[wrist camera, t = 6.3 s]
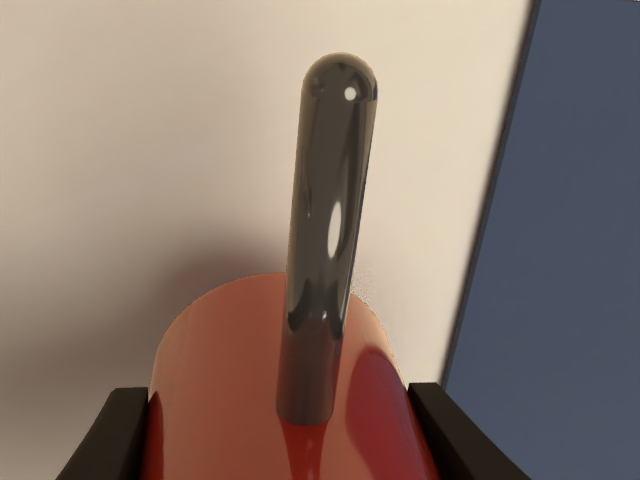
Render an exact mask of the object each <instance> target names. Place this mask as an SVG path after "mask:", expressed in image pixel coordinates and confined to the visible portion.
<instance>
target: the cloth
mask: <svg viewBox="0 0 640 480" xmlns="http://www.w3.org/2000/svg"><path fill="white" fill-rule="evenodd" d="M442 389H443V390H444V391H445V392H446V393H447V394H448V395H449V396H450V397H451V399H452V400H453V401H454V402H455V403H456V404H457V405H458V406H459V407H460V408H461V409H462V410H463V411H464V413H465V414H466V415H467V416H468V417H469V418H470V419H471V420H472V421H473V422H474V423H475V424H476V425H477V426H478V427H479V428H480V430H481V431H482V432H483V433H484V434H485V435H486V436H487V437H488V438H489V439H490V440H491V441H492V442H493V443H494V444H495V445H496V446H497V447H498V448H499V449H500V450H501V451H502V452H503V453H504V454H505V455H506V456H507V457H508V458H509V459H510V460H511V461H512V462H513V463H515V464H516V465H517V466H518V467H519V468H520V469H521V470H522V471H523V472H524V473H525V474H526V475H527V476H529V477H530V478H531V479H532V480H640V1H635V0H535V4H534V8H533V13H532V17H531V21H530V25H529V29H528V33H527V37H526V41H525V46H524V50H523V54H522V58H521V62H520V66H519V70H518V74H517V79H516V83H515V87H514V91H513V95H512V99H511V103H510V108H509V112H508V116H507V120H506V124H505V128H504V132H503V136H502V141H501V145H500V149H499V153H498V157H497V161H496V165H495V169H494V174H493V178H492V182H491V186H490V190H489V194H488V198H487V202H486V207H485V211H484V215H483V219H482V223H481V227H480V231H479V236H478V240H477V244H476V248H475V252H474V256H473V260H472V264H471V269H470V273H469V277H468V281H467V285H466V289H465V293H464V297H463V302H462V306H461V310H460V314H459V318H458V322H457V326H456V331H455V335H454V339H453V343H452V347H451V351H450V355H449V359H448V364H447V368H446V372H445V376H444V380H443V384H442Z"/></svg>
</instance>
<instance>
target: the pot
mask: <svg viewBox="0 0 640 480" xmlns="http://www.w3.org/2000/svg"><path fill="white" fill-rule="evenodd" d="M377 100H378V84H377V80H376V77H375V75H374V73H373V71H372V70H371V68H370V67H369V65H368V64H367V63H366V62H365V61H363V60H362V59H360V58H359V57H357V56H355V55H352V54H349V53H344V52H338V53H331V54H328V55H326V56H323V57H321V58H320V59H318V60H317V61H316V62H315V63H314V64H313V65H312V66H311V67H310V68H309V70H308V71H307V73H306V75H305V77H304V80H303V84H302V90H301V102H300V114H299V126H298V138H297V149H296V161H295V173H294V185H293V197H292V209H291V221H290V233H289V244H288V256H287V268H286V273H266V274H259V275H253V276H248V277H244V278H240V279H237V280H233V281H231V282H228V283H226V284H223V285H221V286H218V287H216V288H214V289H212V290H211V291H209V292H207V293H205V294H203V295H202V296H200V297H199V298H198V299H196V300H195V301H193V302H192V303H191V304H190V305H188V306H187V307H186V308H185V309H184V310H183V311H182V312H181V313H180V314H179V315H178V316H177V317H176V318H175V320H174V321H173V322H172V323H171V325H170V326H169V327H168V329H167V331H166V332H165V334H164V336H163V337H162V340H161V342H160V344H159V347H158V349H157V353H156V357H155V362H154V367H153V374H152V380H151V386H150V393H149V399H148V409H147V415H146V422H145V428H144V434H143V441H142V447H141V452H140V458H139V463H138V469H137V476H136V480H441V478H440V475H439V473H438V470H437V467H436V465H435V462H434V460H433V457H432V455H431V452H430V449H429V447H428V444H427V442H426V439H425V436H424V434H423V431H422V429H421V426H420V423H419V421H418V418H417V416H416V413H415V410H414V408H413V405H412V403H411V400H410V398H409V395H408V392H407V390H406V387H405V385H404V382H403V379H402V377H401V374H400V372H399V369H398V366H397V364H396V361H395V359H394V356H393V353H392V351H391V348H390V346H389V343H388V340H387V338H386V335H385V333H384V330H383V328H382V326H381V324H380V322H379V321H378V319H377V318H376V316H375V315H374V313H373V312H372V311H371V310H370V309H369V308H368V306H367V305H366V304H365V303H363V302H362V301H361V300H360V299H359V298H358V297H356V296H355V295H353V294H352V293H350V290H351V283H352V276H353V269H354V262H355V255H356V248H357V241H358V234H359V227H360V220H361V213H362V206H363V199H364V192H365V184H366V177H367V170H368V163H369V156H370V149H371V142H372V135H373V128H374V121H375V114H376V107H377Z"/></svg>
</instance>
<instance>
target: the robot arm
mask: <svg viewBox="0 0 640 480" xmlns="http://www.w3.org/2000/svg"><path fill="white" fill-rule="evenodd" d="M407 392H408V395H409V398H410V400H411V403H412V405H413V408H414V410H415V413H416V416H417V418H418V421H419V423H420V426H421V429H422V431H423V434H424V436H425V439H426V442H427V444H428V447H429V449H430V452H431V455H432V457H433V460H434V462H435V465H436V467H437V470H438V473H439V475H440V478H441V480H532V479H531V478H530V477H529V476H527V475H526V474H525V473H524V472H523V471H522V470H521V469H520V468H519V467H518V466H517V465H516V464H515V463H513V462H512V461H511V460H510V459H509V458H508V457H507V456H506V455H505V454H504V453H503V452H502V451H501V450H500V449H499V448H498V447H497V446H496V445H495V444H494V443H493V442H492V441H491V440H490V439H489V438H488V437H487V436H486V435H485V434H484V433H483V432H482V431H481V430H480V428H479V427H478V426H477V425H476V424H475V423H474V422H473V421H472V420H471V419H470V418H469V417H468V416H467V415H466V414H465V413H464V411H463V410H462V409H461V408H460V407H459V406H458V405H457V404H456V403H455V402H454V401H453V400H452V399H451V397H450V396H449V395H448V394H447V393H446V392H445V391H444V390H443V389H442V388H441V387H440V386H439V385H438V384H437V383H436V382H433V383H409V387H408V391H407ZM147 409H148V387H134V388H115V389H114V390H113V391H112V392H111V393H110V395H109V397H108V398H107V400H106V402H105V404H104V406H103V408H102V410H101V411H100V413H99V415H98V417H97V418H96V420H95V422H94V423H93V425H92V426H91V428H90V430H89V431H88V433H87V434H86V436H85V438H84V439H83V441H82V442H81V444H80V445H79V447H78V448H77V449H76V451H75V452H74V454H73V455H72V457H71V458H70V460H69V461H68V463H67V464H66V465H65V467H64V468H63V470H62V471H61V473H60V474H59V475H58V477H57V478H56V479H55V480H136V476H137V469H138V463H139V458H140V452H141V447H142V441H143V434H144V428H145V422H146V415H147Z"/></svg>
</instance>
